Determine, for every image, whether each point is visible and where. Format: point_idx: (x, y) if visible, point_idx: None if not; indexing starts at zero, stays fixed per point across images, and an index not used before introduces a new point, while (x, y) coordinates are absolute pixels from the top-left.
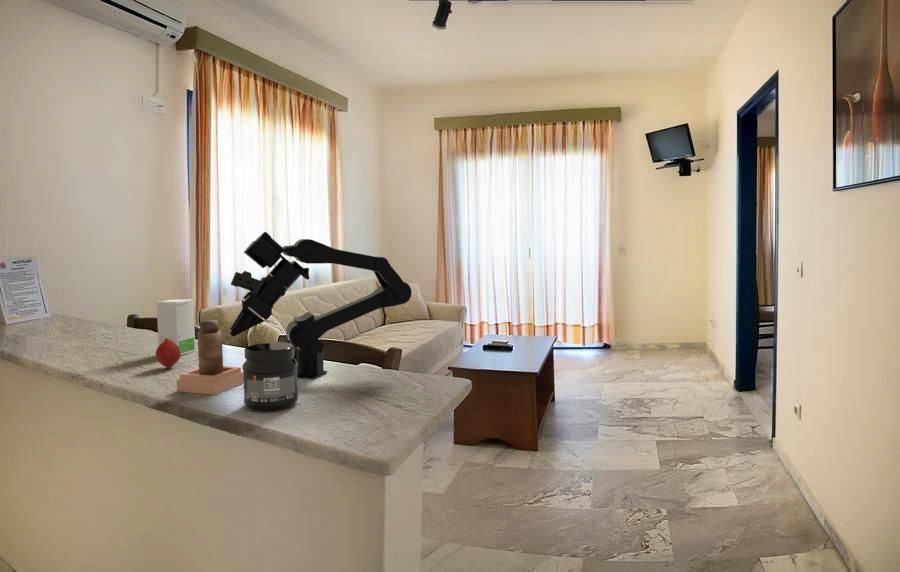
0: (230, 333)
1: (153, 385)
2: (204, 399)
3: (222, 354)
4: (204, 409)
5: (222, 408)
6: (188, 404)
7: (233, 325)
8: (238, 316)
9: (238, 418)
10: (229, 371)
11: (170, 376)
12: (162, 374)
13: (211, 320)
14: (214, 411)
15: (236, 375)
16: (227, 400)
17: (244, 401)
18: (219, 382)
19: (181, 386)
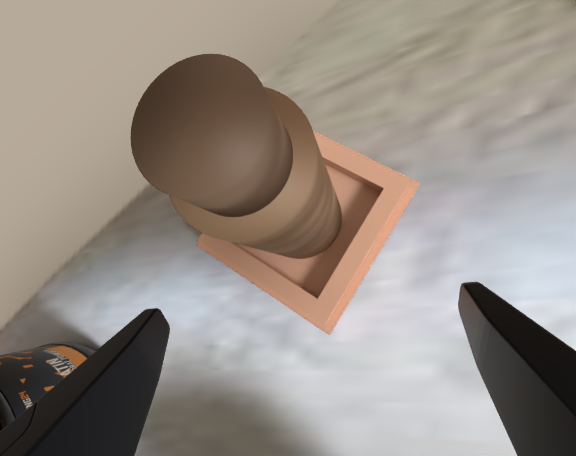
0: (145, 312)
1: (377, 38)
2: (177, 226)
3: (279, 252)
4: (95, 242)
5: (88, 284)
6: (147, 194)
7: (479, 312)
8: (552, 395)
9: (9, 329)
10: (264, 285)
11: (505, 46)
12: (549, 6)
13: (229, 135)
14: (73, 268)
15: (289, 307)
16: (149, 290)
17: (43, 345)
18: (215, 257)
19: None
